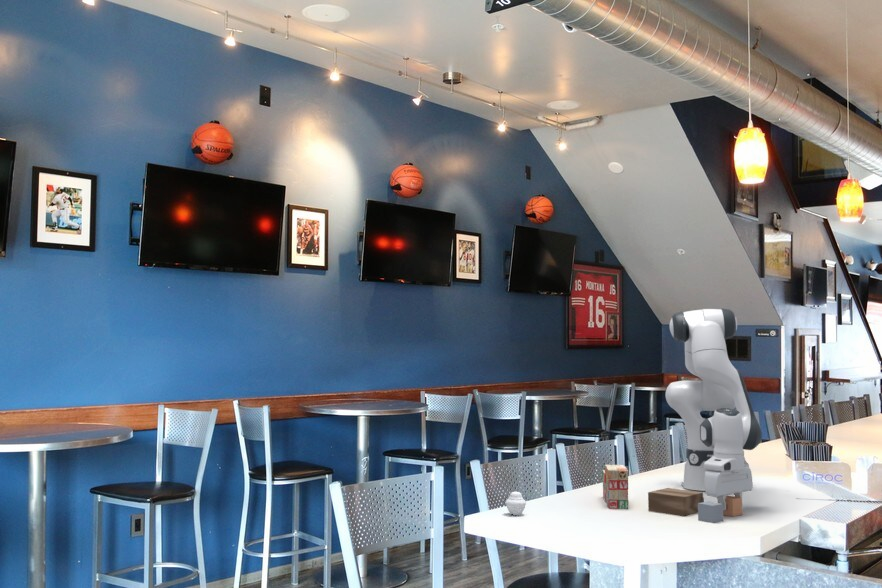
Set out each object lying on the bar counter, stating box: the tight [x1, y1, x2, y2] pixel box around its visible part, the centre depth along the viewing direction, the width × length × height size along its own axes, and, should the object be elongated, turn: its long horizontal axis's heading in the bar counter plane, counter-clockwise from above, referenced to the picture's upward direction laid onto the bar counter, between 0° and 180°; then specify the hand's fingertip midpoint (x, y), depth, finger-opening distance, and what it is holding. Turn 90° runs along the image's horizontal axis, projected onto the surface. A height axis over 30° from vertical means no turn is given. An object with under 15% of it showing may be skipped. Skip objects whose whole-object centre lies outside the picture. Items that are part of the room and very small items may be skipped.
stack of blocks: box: [601, 464, 629, 510], centre depth 260 cm, size 21×6×12 cm, turn 173°
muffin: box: [505, 490, 527, 516], centre depth 239 cm, size 6×6×7 cm
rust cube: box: [717, 495, 743, 517], centre depth 241 cm, size 5×5×5 cm
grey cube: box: [697, 501, 724, 524], centre depth 232 cm, size 5×5×5 cm
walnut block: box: [647, 487, 704, 518], centre depth 246 cm, size 12×12×6 cm
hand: (730, 508), depth 241 cm, fingers closed on rust cube, 5 cm apart
